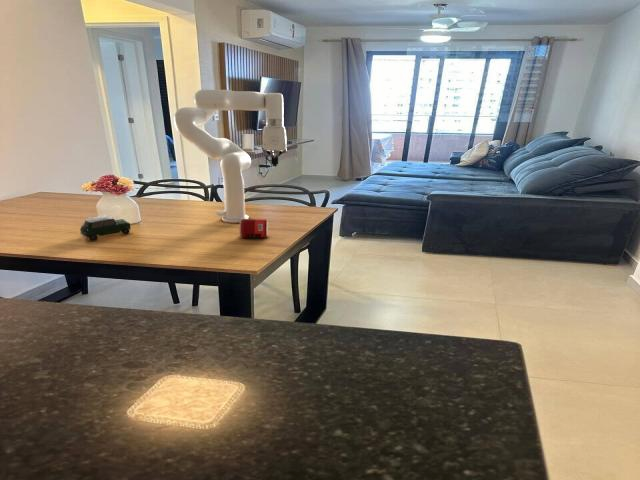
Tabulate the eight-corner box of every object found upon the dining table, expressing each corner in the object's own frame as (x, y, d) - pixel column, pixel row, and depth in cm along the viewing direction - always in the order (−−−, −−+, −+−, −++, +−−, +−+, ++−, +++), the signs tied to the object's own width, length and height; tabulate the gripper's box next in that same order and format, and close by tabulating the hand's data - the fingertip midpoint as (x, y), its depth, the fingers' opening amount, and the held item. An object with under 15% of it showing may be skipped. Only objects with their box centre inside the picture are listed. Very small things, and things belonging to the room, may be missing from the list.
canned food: (267, 215, 160) (240, 215, 159) (266, 227, 154) (238, 227, 153) (267, 229, 165) (242, 229, 164) (267, 241, 159) (240, 241, 158)
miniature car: (133, 233, 161) (131, 215, 158) (85, 242, 149) (82, 222, 146) (126, 228, 167) (123, 210, 164) (79, 237, 155) (75, 218, 152)
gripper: (256, 123, 161) (257, 166, 167) (291, 124, 162) (291, 167, 168) (258, 122, 168) (259, 164, 174) (292, 123, 169) (291, 165, 175)
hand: (274, 165), depth 171 cm, fingers closed
